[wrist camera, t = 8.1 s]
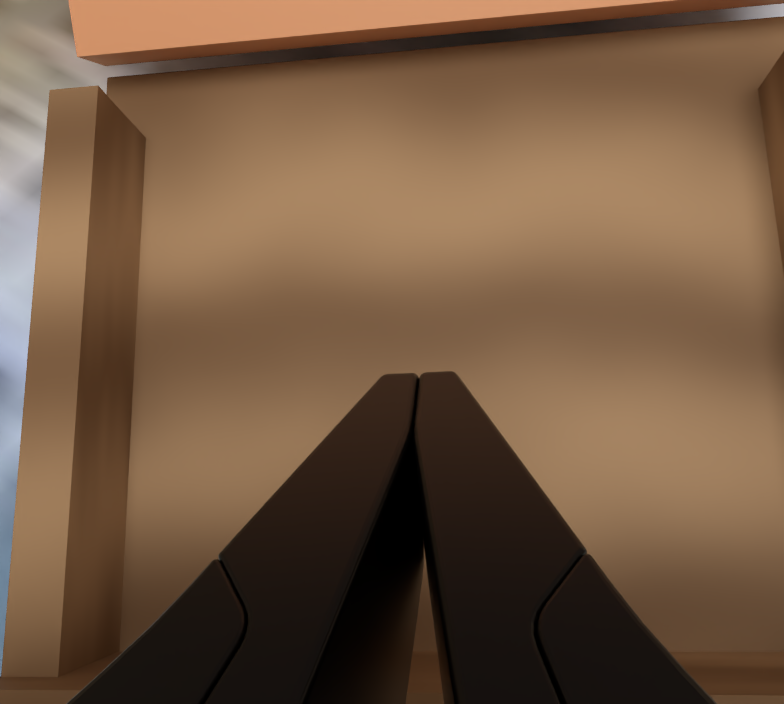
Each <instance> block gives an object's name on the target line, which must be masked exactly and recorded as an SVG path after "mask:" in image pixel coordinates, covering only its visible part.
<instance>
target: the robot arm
mask: <svg viewBox="0 0 784 704" xmlns="http://www.w3.org/2000/svg"><path fill="white" fill-rule="evenodd" d="M424 554H425V558H426V567H427V577H428V585H429V593H430V600H431V608H432V616H433V623H434V631H435V639H436V646H437V654H438V662H439V669H440V677H441V685H442V692H443V700H444V704H717V703H716V702H715V701H714V699H713V698H712V697H711V696H710V695H709V694H708V693H707V692H706V691H705V690H704V689H703V688H702V687H701V686H700V685H699V684H698V683H697V682H696V680H695V679H694V678H693V677H692V676H691V675H690V674H689V673H688V672H687V671H686V670H685V669H684V668H683V666H682V665H681V664H680V663H679V662H678V661H677V660H676V659H675V658H674V656H673V655H672V654H671V653H670V652H669V651H668V650H667V649H666V648H665V646H664V645H663V644H662V643H661V642H660V641H659V640H658V639H657V638H656V636H655V635H654V634H653V633H652V632H651V631H650V630H649V629H648V628H647V627H646V625H645V624H644V623H643V622H642V620H641V619H640V618H639V617H638V615H637V614H636V613H635V612H634V610H633V609H632V608H631V607H630V605H629V604H628V603H627V602H626V600H625V599H624V598H623V597H622V595H621V594H620V593H619V591H618V590H617V589H616V588H615V586H614V585H613V584H612V583H611V581H610V580H609V579H608V577H607V576H606V574H605V573H604V572H603V570H602V569H601V568H600V566H599V565H598V564H597V562H596V561H595V560H594V558H593V557H592V556H591V555H590V554H587V550H586V548H585V547H584V545H583V544H582V543H581V541H580V540H579V538H578V537H577V536H576V534H575V533H574V532H573V530H572V529H571V528H570V526H569V525H568V524H567V522H566V521H565V519H564V518H563V517H562V515H561V514H560V513H559V511H558V510H557V509H556V507H555V506H554V505H553V503H552V502H551V501H550V499H549V498H548V496H547V495H546V494H545V492H544V491H543V490H542V488H541V487H540V486H539V484H538V483H537V482H536V480H535V479H534V477H533V476H532V475H531V473H530V472H529V471H528V469H527V468H526V467H525V465H524V464H523V463H522V461H521V460H520V459H519V457H518V456H517V454H516V453H515V452H514V450H513V449H512V448H511V446H510V445H509V444H508V442H507V441H506V440H505V438H504V437H503V436H502V434H501V433H500V431H499V430H498V429H497V427H496V426H495V425H494V423H493V422H492V421H491V419H490V418H489V417H488V415H487V414H486V412H485V411H484V410H483V408H482V407H481V406H480V404H479V403H478V402H477V400H476V399H475V398H474V396H473V395H472V394H471V392H470V391H469V389H468V388H467V387H466V385H465V384H464V383H463V381H462V380H461V379H460V377H459V376H458V375H457V374H456V373H455V372H453V371H441V372H425V373H423V374H421V375H420V377H418V375H417V374H415V373H395V374H384V375H383V376H381V377H380V378H379V379H378V380H377V381H376V383H375V384H374V385H373V386H372V387H371V388H370V389H369V390H368V391H367V392H366V393H365V395H364V396H363V397H362V398H361V399H360V400H359V401H358V402H357V403H356V404H355V405H354V407H353V408H352V409H351V410H350V411H349V412H348V413H347V414H346V415H345V416H344V418H343V419H342V420H341V421H340V422H339V423H338V424H337V425H336V426H335V427H334V428H333V430H332V431H331V432H330V433H329V434H328V435H327V436H326V437H325V438H324V439H323V440H322V442H321V443H320V444H319V445H318V446H317V447H316V448H315V449H314V450H313V451H312V452H311V454H310V455H309V456H308V457H307V458H306V459H305V460H304V461H303V462H302V463H301V465H300V466H299V467H298V468H297V469H296V470H295V471H294V472H293V473H292V474H291V475H290V477H289V478H288V479H287V480H286V481H285V482H284V483H283V484H282V485H281V486H280V487H279V489H278V490H277V491H276V492H275V493H274V494H273V495H272V496H271V497H270V498H269V499H268V501H267V502H266V503H265V504H264V505H263V506H262V507H261V508H260V509H259V510H258V512H257V513H256V514H255V515H254V516H253V517H252V518H251V519H250V520H249V521H248V522H247V524H246V525H245V526H244V527H243V528H242V529H241V530H240V531H239V532H238V533H237V534H236V536H235V537H234V538H233V539H232V540H231V541H230V542H229V543H228V544H227V545H226V547H225V548H224V549H223V550H222V551H221V552H220V553H219V555H218V559H219V560H218V559H214V560H212V561H211V562H210V564H209V565H208V566H207V567H206V568H205V569H204V570H203V571H202V572H201V573H200V574H199V576H198V577H197V578H196V579H195V580H194V581H193V582H192V583H191V584H190V585H189V586H188V587H187V588H186V590H185V591H184V592H183V593H182V594H181V595H180V596H179V597H178V598H177V599H176V600H175V601H174V602H173V603H172V604H171V605H170V606H169V607H168V608H167V609H166V610H165V611H164V612H163V613H162V614H161V615H160V616H159V618H158V619H157V620H156V621H155V622H154V623H153V624H152V625H151V626H150V627H149V628H148V629H147V630H145V631H144V632H143V633H142V634H141V635H140V636H139V637H138V638H137V639H136V640H135V641H134V642H133V643H132V644H131V645H130V646H128V647H127V648H126V649H125V650H124V651H123V652H122V653H121V654H120V655H119V656H118V657H117V658H116V659H115V660H114V661H113V662H112V663H110V664H109V665H108V666H107V667H106V668H105V669H104V670H103V671H102V672H101V673H100V674H99V675H97V676H96V677H95V678H94V679H93V680H92V681H91V682H90V683H89V684H88V685H86V686H85V687H84V688H83V689H82V690H81V691H80V692H79V693H78V694H76V695H75V696H74V697H73V698H72V699H71V700H70V701H69V702H68V703H66V704H406V697H407V690H408V683H409V675H410V668H411V660H412V653H413V645H414V638H415V630H416V623H417V616H418V608H419V601H420V593H421V586H422V578H423V568H424Z"/></svg>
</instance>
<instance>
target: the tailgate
mask: <svg viewBox="0 0 784 704" xmlns="http://www.w3.org/2000/svg"><path fill="white" fill-rule="evenodd" d="M782 3H784V0H69V7H70V13H71V20H72V26H73V32H74V39H75V45H76V52H77V57H80V58H83V59H86V60H89V61H92V62H95V63H98V64H101V65H104V66H111V65H122V64H133V63H143V62H154V61H165V60H176V59H187V58H197V57H208V56H219V55H230V54H241V53H252V52H262V51H273V50H284V49H295V48H306V47H316V46H327V45H338V44H349V43H360V42H371V41H381V40H392V39H403V38H414V37H425V36H435V35H446V34H457V33H468V32H479V31H490V30H500V29H511V28H522V27H533V26H544V25H554V24H565V23H576V22H587V21H598V20H608V19H619V18H630V17H641V16H652V15H663V14H673V13H684V12H695V11H706V10H717V9H727V8H738V7H749V6H760V5H771V4H782Z"/></svg>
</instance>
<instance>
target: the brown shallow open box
mask: <svg viewBox="0 0 784 704" xmlns="http://www.w3.org/2000/svg"><path fill="white" fill-rule="evenodd" d="M441 371H453V372H455V373H456V374H457V375H458V376H459V377H460V379H461V380H462V381H463V383H464V384H465V385H466V387H467V388H468V389H469V391H470V392H471V394H472V395H473V396H474V398H475V399H476V400H477V402H478V403H479V404H480V406H481V407H482V408H483V410H484V411H485V412H486V414H487V415H488V417H489V418H490V419H491V421H492V422H493V423H494V425H495V426H496V427H497V429H498V430H499V431H500V433H501V434H502V436H503V437H504V438H505V440H506V441H507V442H508V444H509V445H510V446H511V448H512V449H513V450H514V452H515V453H516V454H517V456H518V457H519V459H520V460H521V461H522V463H523V464H524V465H525V467H526V468H527V469H528V471H529V472H530V473H531V475H532V476H533V477H534V479H535V480H536V482H537V483H538V484H539V486H540V487H541V488H542V490H543V491H544V492H545V494H546V495H547V496H548V498H549V499H550V501H551V502H552V503H553V505H554V506H555V507H556V509H557V510H558V511H559V513H560V514H561V515H562V517H563V518H564V519H565V521H566V522H567V524H568V525H569V526H570V528H571V529H572V530H573V532H574V533H575V534H576V536H577V537H578V538H579V540H580V541H581V543H582V544H583V545H584V547H585V548H586V550H587V554H590V555H591V556H592V557H593V558H594V560H595V561H596V562H597V564H598V565H599V566H600V568H601V569H602V570H603V572H604V573H605V574H606V576H607V577H608V579H609V580H610V581H611V583H612V584H613V585H614V586H615V588H616V589H617V590H618V591H619V593H620V594H621V595H622V597H623V598H624V599H625V600H626V602H627V603H628V604H629V605H630V607H631V608H632V609H633V610H634V612H635V613H636V614H637V615H638V617H639V618H640V619H641V620H642V622H643V623H644V624H645V625H646V627H647V628H648V629H649V630H650V631H651V632H652V633H653V634H654V635H655V636H656V638H657V639H658V640H659V641H660V642H661V643H662V644H663V645H664V646H665V648H666V649H667V650H668V651H669V652H670V653H671V654H672V655H673V656H674V658H675V659H676V660H677V661H678V662H679V663H680V664H681V665H682V666H683V668H684V669H685V670H686V671H687V672H688V673H689V674H690V675H691V676H692V677H693V678H694V679H695V680H696V682H697V683H698V684H699V685H700V686H701V687H702V688H703V689H704V690H705V691H706V692H707V693H708V694H709V695H710V696H711V697H712V698H713V699H714V701H715V702H716V703H717V704H784V17H773V18H762V19H751V20H740V21H729V22H718V23H707V24H696V25H685V26H674V27H663V28H652V29H641V30H630V31H619V32H607V33H596V34H585V35H574V36H563V37H552V38H541V39H530V40H519V41H508V42H497V43H486V44H475V45H464V46H453V47H442V48H431V49H420V50H409V51H398V52H387V53H376V54H365V55H353V56H342V57H331V58H320V59H309V60H298V61H287V62H276V63H265V64H254V65H243V66H232V67H221V68H210V69H199V70H188V71H177V72H166V73H155V74H144V75H133V76H122V77H111V78H108V79H107V95H106V94H105V93H104V92H103V90H102V89H101V88H100V87H99V86H89V87H78V88H67V89H56V90H50V93H49V105H48V117H47V130H46V142H45V154H44V166H43V178H42V190H41V202H40V214H39V226H38V238H37V250H36V262H35V274H34V287H33V299H32V311H31V323H30V335H29V347H28V359H27V371H26V383H25V395H24V407H23V419H22V431H21V444H20V456H19V468H18V480H17V492H16V504H15V516H14V528H13V540H12V552H11V564H10V576H9V589H8V601H7V613H6V625H5V637H4V649H3V661H2V673H1V677H0V704H66V703H68V702H69V701H70V700H71V699H72V698H73V697H74V696H75V695H76V694H78V693H79V692H80V691H81V690H82V689H83V688H84V687H85V686H86V685H88V684H89V683H90V682H91V681H92V680H93V679H94V678H95V677H96V676H97V675H99V674H100V673H101V672H102V671H103V670H104V669H105V668H106V667H107V666H108V665H109V664H110V663H112V662H113V661H114V660H115V659H116V658H117V657H118V656H119V655H120V654H121V653H122V652H123V651H124V650H125V649H126V648H127V647H128V646H130V645H131V644H132V643H133V642H134V641H135V640H136V639H137V638H138V637H139V636H140V635H141V634H142V633H143V632H144V631H145V630H147V629H148V628H149V627H150V626H151V625H152V624H153V623H154V622H155V621H156V620H157V619H158V618H159V616H160V615H161V614H162V613H163V612H164V611H165V610H166V609H167V608H168V607H169V606H170V605H171V604H172V603H173V602H174V601H175V600H176V599H177V598H178V597H179V596H180V595H181V594H182V593H183V592H184V591H185V590H186V588H187V587H188V586H189V585H190V584H191V583H192V582H193V581H194V580H195V579H196V578H197V577H198V576H199V574H200V573H201V572H202V571H203V570H204V569H205V568H206V567H207V566H208V565H209V564H210V562H211V561H212V560H214V559H218V555H219V553H220V552H221V551H222V550H223V549H224V548H225V547H226V545H227V544H228V543H229V542H230V541H231V540H232V539H233V538H234V537H235V536H236V534H237V533H238V532H239V531H240V530H241V529H242V528H243V527H244V526H245V525H246V524H247V522H248V521H249V520H250V519H251V518H252V517H253V516H254V515H255V514H256V513H257V512H258V510H259V509H260V508H261V507H262V506H263V505H264V504H265V503H266V502H267V501H268V499H269V498H270V497H271V496H272V495H273V494H274V493H275V492H276V491H277V490H278V489H279V487H280V486H281V485H282V484H283V483H284V482H285V481H286V480H287V479H288V478H289V477H290V475H291V474H292V473H293V472H294V471H295V470H296V469H297V468H298V467H299V466H300V465H301V463H302V462H303V461H304V460H305V459H306V458H307V457H308V456H309V455H310V454H311V452H312V451H313V450H314V449H315V448H316V447H317V446H318V445H319V444H320V443H321V442H322V440H323V439H324V438H325V437H326V436H327V435H328V434H329V433H330V432H331V431H332V430H333V428H334V427H335V426H336V425H337V424H338V423H339V422H340V421H341V420H342V419H343V418H344V416H345V415H346V414H347V413H348V412H349V411H350V410H351V409H352V408H353V407H354V405H355V404H356V403H357V402H358V401H359V400H360V399H361V398H362V397H363V396H364V395H365V393H366V392H367V391H368V390H369V389H370V388H371V387H372V386H373V385H374V384H375V383H376V381H377V380H378V379H379V378H380V377H381V376H383V375H384V374H395V373H415V374H417V375H418V377H420V375H421V374H423V373H425V372H441ZM218 560H219V559H218ZM406 704H444V700H443V692H442V685H441V677H440V669H439V662H438V654H437V646H436V639H435V631H434V623H433V616H432V608H431V600H430V593H429V585H428V577H427V567H426V558H425V554H424V568H423V578H422V586H421V593H420V601H419V608H418V616H417V623H416V630H415V638H414V645H413V653H412V660H411V668H410V675H409V683H408V690H407V697H406Z"/></svg>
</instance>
